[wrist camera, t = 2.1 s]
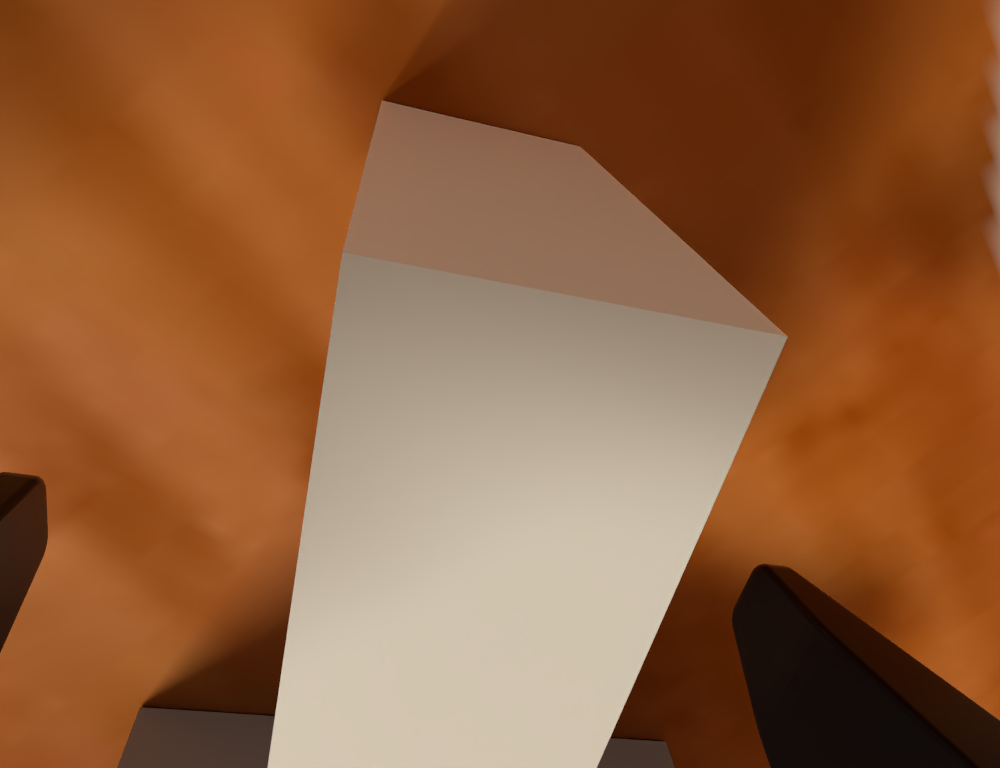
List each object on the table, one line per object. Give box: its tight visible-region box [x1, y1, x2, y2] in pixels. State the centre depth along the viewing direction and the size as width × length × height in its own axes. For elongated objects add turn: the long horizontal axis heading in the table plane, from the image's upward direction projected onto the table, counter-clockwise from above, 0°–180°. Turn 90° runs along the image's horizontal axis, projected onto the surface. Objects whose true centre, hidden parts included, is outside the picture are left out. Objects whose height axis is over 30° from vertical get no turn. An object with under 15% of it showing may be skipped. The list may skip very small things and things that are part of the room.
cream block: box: [267, 101, 788, 768], centre depth 10 cm, size 3×9×7 cm, turn 166°
